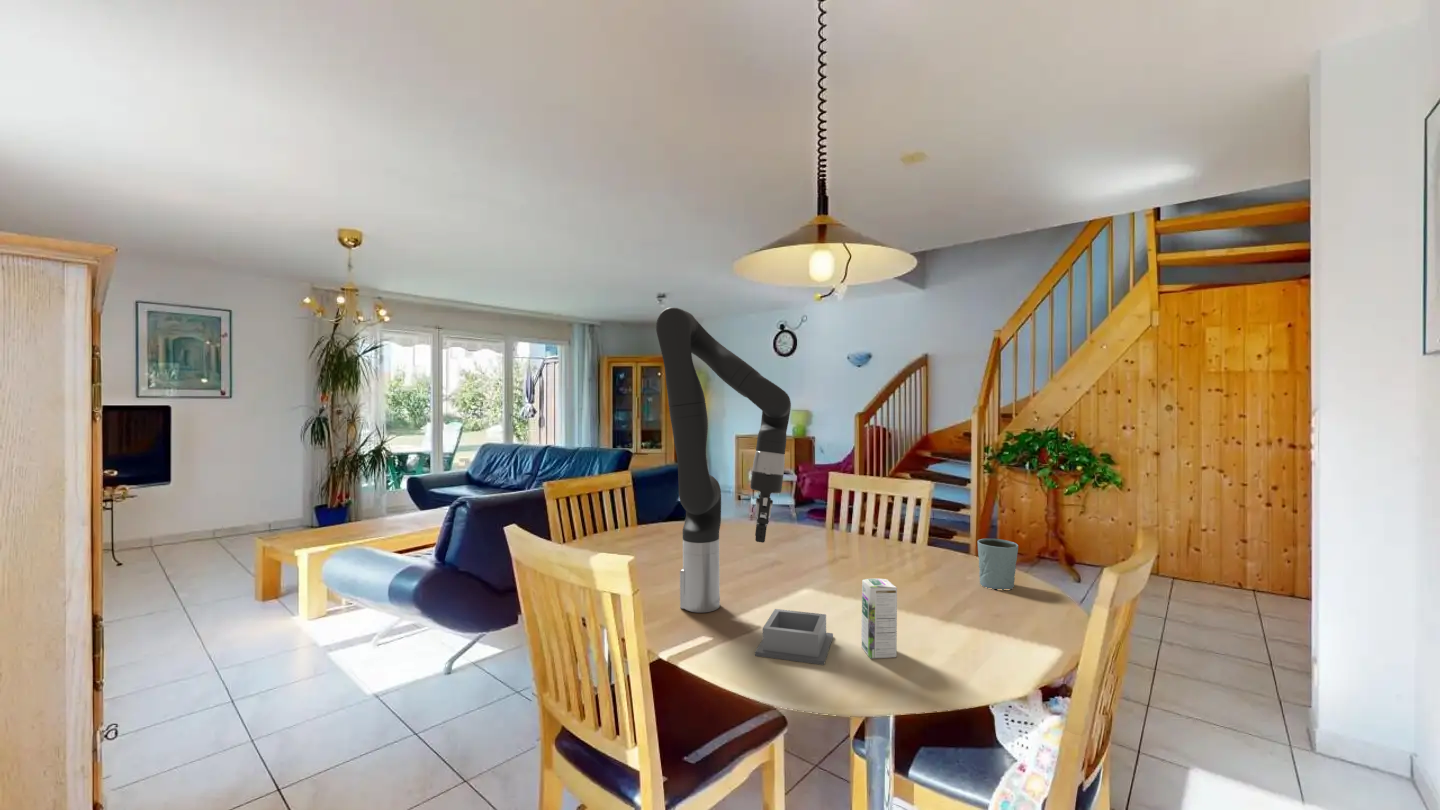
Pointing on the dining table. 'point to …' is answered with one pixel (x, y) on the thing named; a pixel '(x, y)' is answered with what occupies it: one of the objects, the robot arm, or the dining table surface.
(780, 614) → the holder
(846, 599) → the dining table surface
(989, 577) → the grey-green plant pot
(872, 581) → the syrup box
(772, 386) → the robot arm
